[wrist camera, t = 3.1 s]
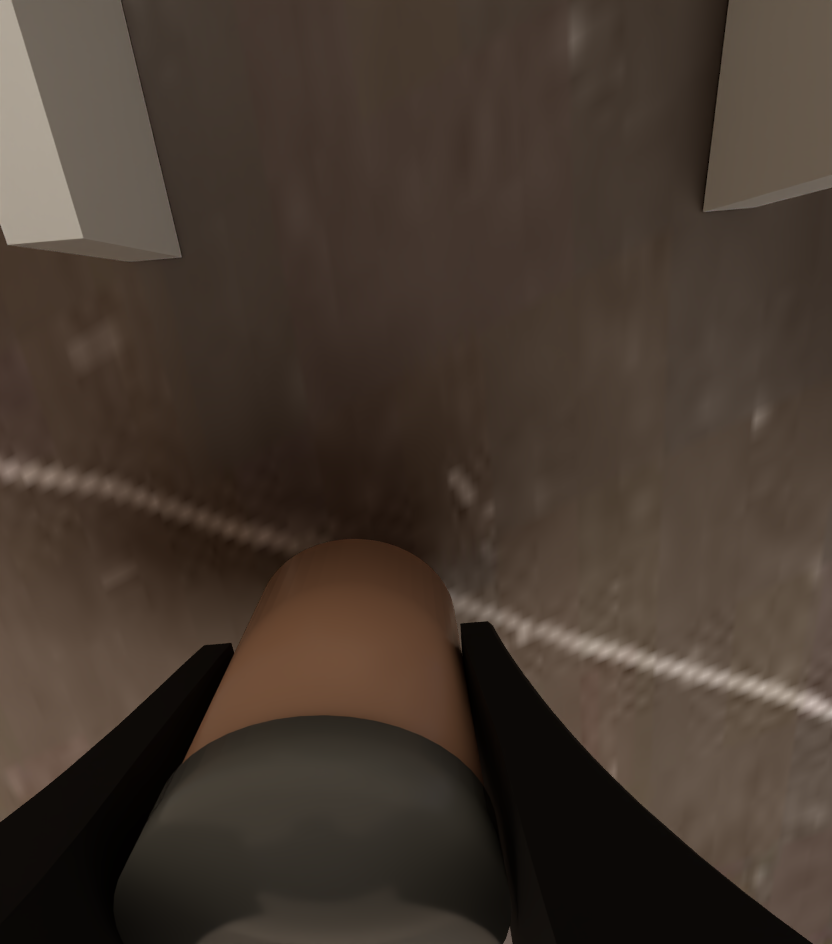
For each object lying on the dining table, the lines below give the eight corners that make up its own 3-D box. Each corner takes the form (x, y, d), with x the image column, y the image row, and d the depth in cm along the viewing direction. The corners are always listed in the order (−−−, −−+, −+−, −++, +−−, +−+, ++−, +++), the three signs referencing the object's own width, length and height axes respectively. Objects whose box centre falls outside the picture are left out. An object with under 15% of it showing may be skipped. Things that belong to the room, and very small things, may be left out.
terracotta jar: (453, 525, 11) (509, 772, 5) (463, 693, 13) (513, 1009, 7) (233, 545, 11) (51, 810, 5) (275, 710, 13) (174, 1039, 7)
